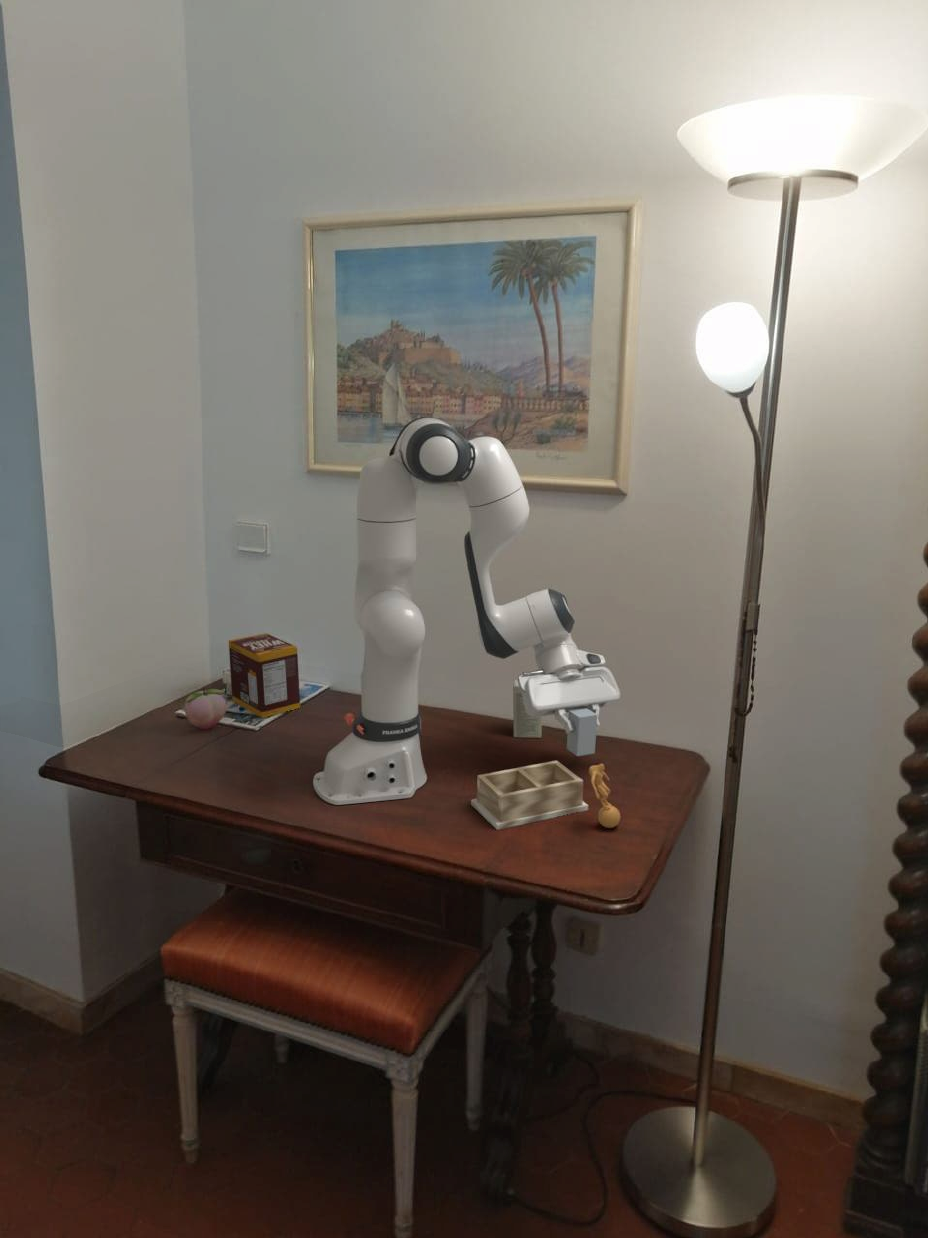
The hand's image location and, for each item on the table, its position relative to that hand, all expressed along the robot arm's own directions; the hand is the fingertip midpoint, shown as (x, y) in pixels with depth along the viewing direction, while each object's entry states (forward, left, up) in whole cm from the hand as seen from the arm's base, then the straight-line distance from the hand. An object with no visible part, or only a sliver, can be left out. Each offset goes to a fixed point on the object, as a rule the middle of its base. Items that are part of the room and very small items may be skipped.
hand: (583, 730), depth 189 cm
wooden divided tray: (-14, -4, -12) cm, 19 cm away
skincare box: (+2, +28, -12) cm, 30 cm away
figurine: (-5, -16, -12) cm, 21 cm away
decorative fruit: (-63, +60, -12) cm, 87 cm away
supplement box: (-47, +70, -12) cm, 85 cm away
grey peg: (0, +1, -5) cm, 5 cm away
